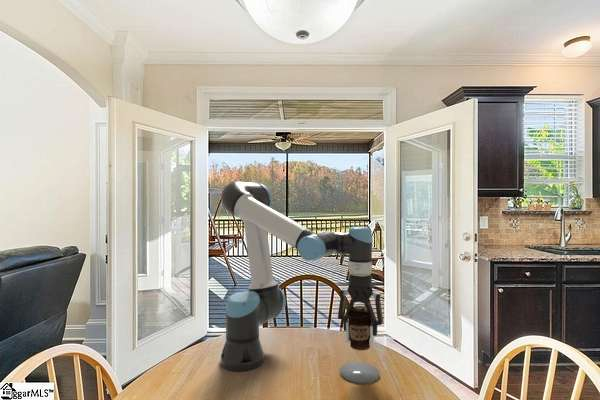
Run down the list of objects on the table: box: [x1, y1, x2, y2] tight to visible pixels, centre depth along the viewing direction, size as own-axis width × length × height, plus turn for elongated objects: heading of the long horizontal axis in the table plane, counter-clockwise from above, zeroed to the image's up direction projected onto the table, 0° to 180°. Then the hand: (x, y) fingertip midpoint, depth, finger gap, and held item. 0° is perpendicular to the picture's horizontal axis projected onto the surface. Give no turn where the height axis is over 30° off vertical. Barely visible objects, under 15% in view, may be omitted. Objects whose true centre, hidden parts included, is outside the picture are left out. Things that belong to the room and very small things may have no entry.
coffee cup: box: [348, 305, 372, 351], centre depth 116 cm, size 9×8×13 cm
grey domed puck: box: [339, 361, 380, 385], centre depth 116 cm, size 13×13×1 cm
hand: (360, 342), depth 116 cm, fingers closed on coffee cup, 7 cm apart
